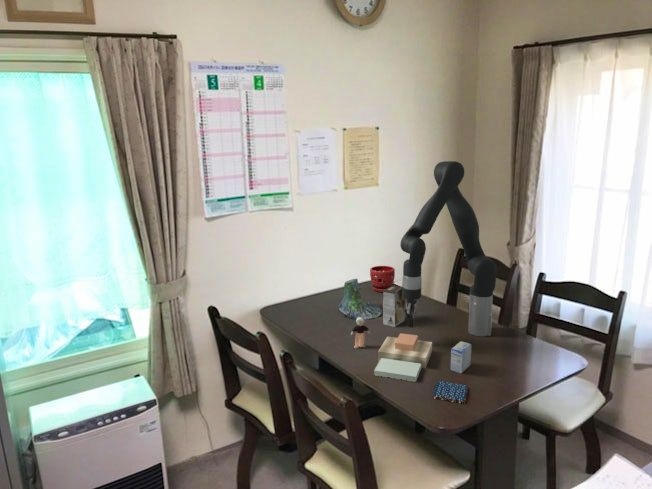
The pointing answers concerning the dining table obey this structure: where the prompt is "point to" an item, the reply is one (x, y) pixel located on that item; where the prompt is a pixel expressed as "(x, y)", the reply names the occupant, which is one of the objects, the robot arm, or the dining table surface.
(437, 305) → the dining table surface
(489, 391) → the dining table surface
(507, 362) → the dining table surface
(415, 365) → the mat
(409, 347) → the tile
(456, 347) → the medicine box
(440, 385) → the woven mat
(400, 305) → the coffee box
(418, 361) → the beige flat block
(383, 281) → the plant pot
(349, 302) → the tree stump
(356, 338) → the grandmother figurine
